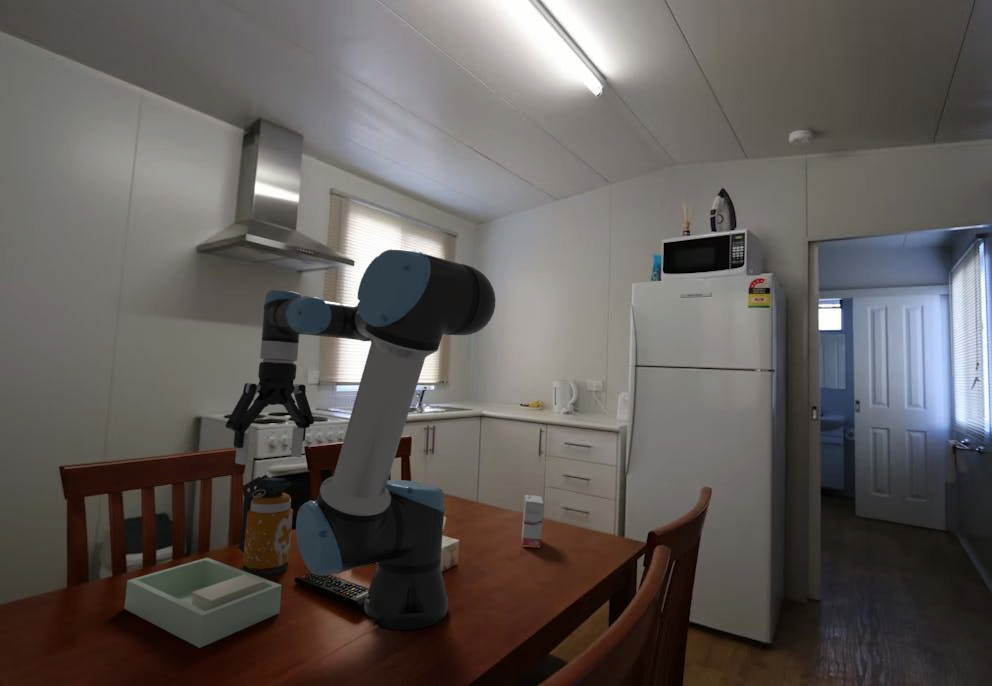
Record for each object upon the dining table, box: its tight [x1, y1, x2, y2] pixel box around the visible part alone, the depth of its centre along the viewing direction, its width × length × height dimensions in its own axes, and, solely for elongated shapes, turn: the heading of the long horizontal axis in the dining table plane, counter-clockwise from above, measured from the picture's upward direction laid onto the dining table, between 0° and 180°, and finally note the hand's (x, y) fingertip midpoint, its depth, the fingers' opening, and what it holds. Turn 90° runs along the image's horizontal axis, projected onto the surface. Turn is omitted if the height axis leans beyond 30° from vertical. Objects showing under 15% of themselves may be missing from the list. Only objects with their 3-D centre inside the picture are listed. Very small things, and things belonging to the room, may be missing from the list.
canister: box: [237, 474, 294, 578], centre depth 108 cm, size 9×11×20 cm
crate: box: [123, 557, 282, 649], centre depth 88 cm, size 22×14×6 cm, turn 61°
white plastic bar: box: [192, 575, 263, 611], centre depth 85 cm, size 5×9×6 cm, turn 151°
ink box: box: [521, 494, 545, 547], centre depth 136 cm, size 9×5×12 cm, turn 179°
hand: (269, 460), depth 109 cm, fingers open, 13 cm apart
